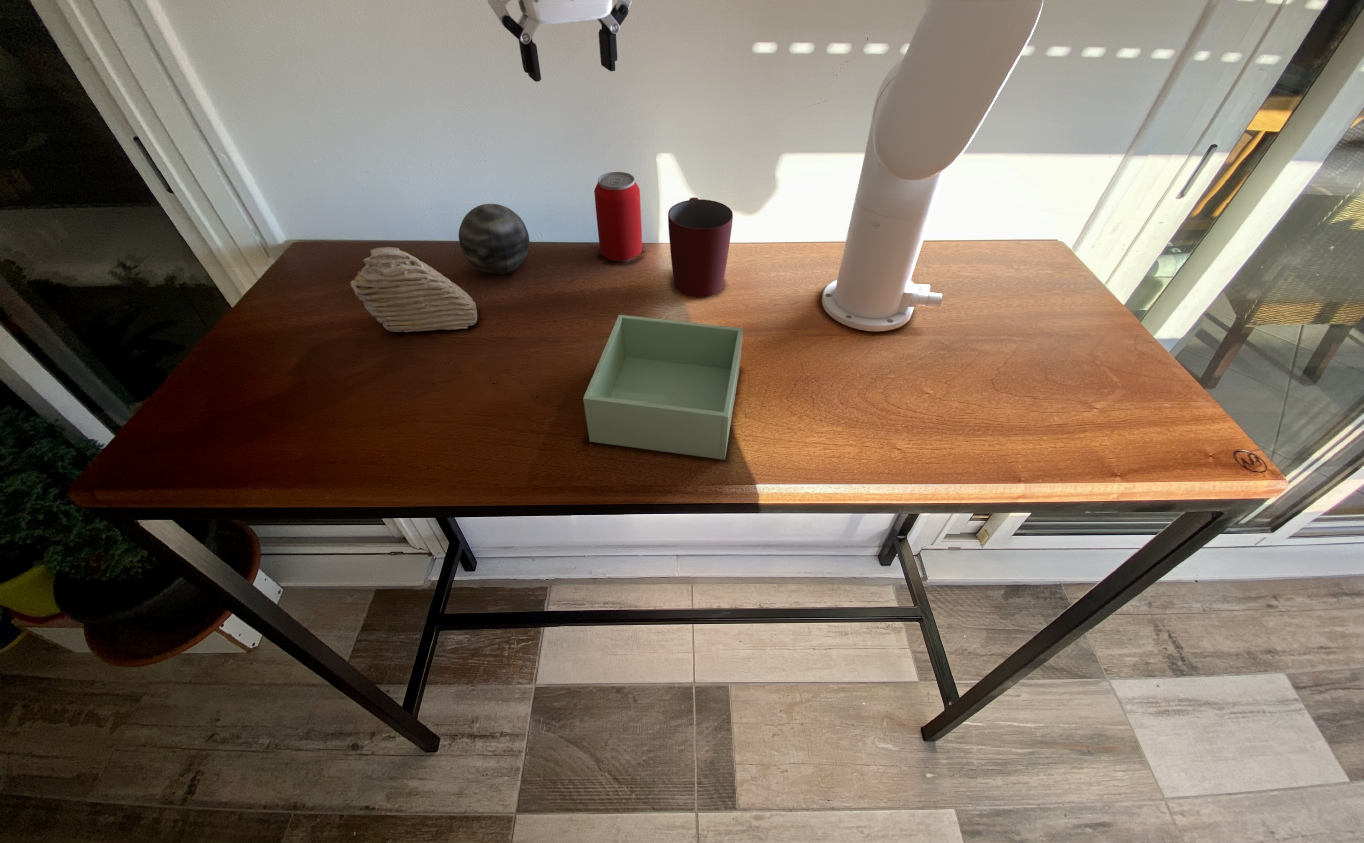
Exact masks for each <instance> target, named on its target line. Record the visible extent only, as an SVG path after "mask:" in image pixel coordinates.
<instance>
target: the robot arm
mask: <svg viewBox="0 0 1364 843" xmlns="http://www.w3.org/2000/svg"><path fill="white" fill-rule="evenodd" d="M510 1H511V0H487V3H488V5H489V7H490V8H491V10H492V11H493V13H494V14H495V16H496V18H497V19H498V20H499V22H500V24H501V25H502V26H503V27H504V28H505V29H506V30H507V31H509V33H511V35H513V36H514V37H515V38H516V39H517V40H518V44H519V51H520V57H521V65H522V68H523V71H524V73H525V74H527V76H528V77H529V78H530V79H531V80H533V81H534V82H535V83H538V82H541V80H542V73H541V67H540V60H539V53H538V46H537V44H536V43H535V42H534V41H533V37H534V35H535V33H536V31H537V30H538V27H539V25H555V24H556V25H557V24H565V23H575V22H585V21H592V20H596V21H598V23H599V24H600V26H601V28H599V29H598V30H599V31H598V44H599V58H600V65H601V67H603V68H605V69H606V70H607V71H609V72H615V71H616V62H617V61H618V46H617V45H618V44H617V42H618V41H617V34H618V33H619V32H620V29H621V28H620V27H621V25H622V24H623V22H625V19H626V18H627V16H628V15H629V8H630V7H631V4H632V1H633V0H616V3H615V4H614V6H613V0H517V2H518V7H519V9H520V12H521V15H520V17H519V19H518V21H516V20H515V19H514V18H512V16H511V15H510V13H509V11H508V9H507V4H508V3H509V2H510ZM924 2H925V4H924V10H923V13H922V15H921V17H920V20H919V21H918V25H917V26H916V28H915V32H914V33H913V35H912V38H911V40H910V43H909V44H908V47H907V50H906V52H905V54H904V56H903V58H902V59H901V60H899V61H898V62H896V63H895V64H894V66H893V67H892V68H891V69H889V71H888V72H887V74H886V75H885V77H884V78H883V80H882V82H881V84H880V86H879V89H878V90H877V93H876V96H875V101H874V105H873V110H872V115H871V120H870V121H871V122H870V127H869V132H868V137H867V141H866V148H865V152H864V157H863V161H862V166H861V171H860V175H859V180H858V184H857V188H856V193H855V197H854V202H853V206H852V210H851V216H850V220H849V225H848V229H847V233H846V234H847V235H846V239H845V243H844V248H843V251H842V256H841V261H840V266H839V270H838V274H837V278H836V280H833V281H831V282H829V284H827V285H826V287H825V288H824V289H823V291H822V296H821V304H822V307H823V309H824V311H825V312H826V313H827V314H828V316H830V317H831V318H832V319H834V320H835V321H837V322H838V323H840V324H841V325H844V326H846V327H849V328H851V329H852V328H853V329H855V330H860V331H866V332H887V331H893V330H896V329H899V328H901V327H902V326H904V325H905V324H907V323H908V322H909V321H910V319H911V318H912V315H913V310H914V308H916V307H917V306H923V307H926V308H927V307H928V308H936V309H937V308H939V309H940V308H941V305H942V302H943V294H942V293H939V292H938V293H937V292H930V291H931V285H930V284H922V283H920V284H918V283H916V284H915V283H914V282H913V281H912V276H913V273H914V271H915V267H916V264H917V261H918V258H919V254H920V251H921V248H922V245H923V242H924V239H925V236H926V233H927V230H928V226H929V224H930V221H931V217H932V214H933V211H934V208H935V205H936V202H937V199H938V196H939V193H940V189H941V187H942V183H943V180H944V176H945V174H946V170H947V169H948V168H950V167H951V166H952V165H953V164H954V163H955V162H956V161H957V160H958V159H960V157H961V155H963V153H964V152H965V150H966V149H967V148H968V147H969V145H970V143H971V142H972V140H973V138H974V137H975V135H976V133H977V132H978V130H979V129H980V127H981V125H982V123H983V122H984V120H985V118H986V117H987V115H988V113H989V111H990V110H991V108H992V106H993V104H994V103H995V101H996V99H997V98H998V95H999V94H1000V92H1001V91H1002V90H1003V87H1004V86H1005V84H1006V82H1007V80H1008V79H1009V77H1010V75H1011V73H1012V72H1013V70H1014V69H1015V67H1016V65H1017V63H1018V61H1019V59H1020V58H1021V56H1022V55H1023V52H1024V51H1025V49H1026V47H1027V45H1028V43H1029V41H1030V40H1031V37H1032V35H1033V33H1034V31H1035V28H1036V26H1037V23H1038V21H1039V18H1040V15H1041V12H1042V10H1043V6H1044V2H1045V0H925V1H924Z"/></svg>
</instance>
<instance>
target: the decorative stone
mask: <svg viewBox="0 0 1364 843" xmlns="http://www.w3.org/2000/svg"><path fill="white" fill-rule="evenodd" d="M458 242H459V246H460V249H461V252H462V254H463V255H464V258H466V260H467V261H468V262H469V263H470V264H471V265H472V266H474V268H476V269H477V270H479V271H481V272H484V273H487V274H490V275H503V274H504V275H505V274H507V273H510V272H512V271H515V270H516V269H517V268H519V267H520V266H521V265H522V263H523V262H524V261H525V260H526V258H527V255H528V252H529V248H530V235H529V232H528V229H527V227H526V225H525V222H524V221H523V219H522V218H521V217H520V216H519V215H518V214H517V213H516V212H514V211H513V210H512V209H511V208H509V207H507V206H504V205H502V204H499V203H483V204H480V205H477V206H475V207H473V208H472V209H471V210H470V211H468V212H467V213H466V214H465V216H464V217H463V219H462V221H461V223H460V226H459V229H458Z"/></svg>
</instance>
